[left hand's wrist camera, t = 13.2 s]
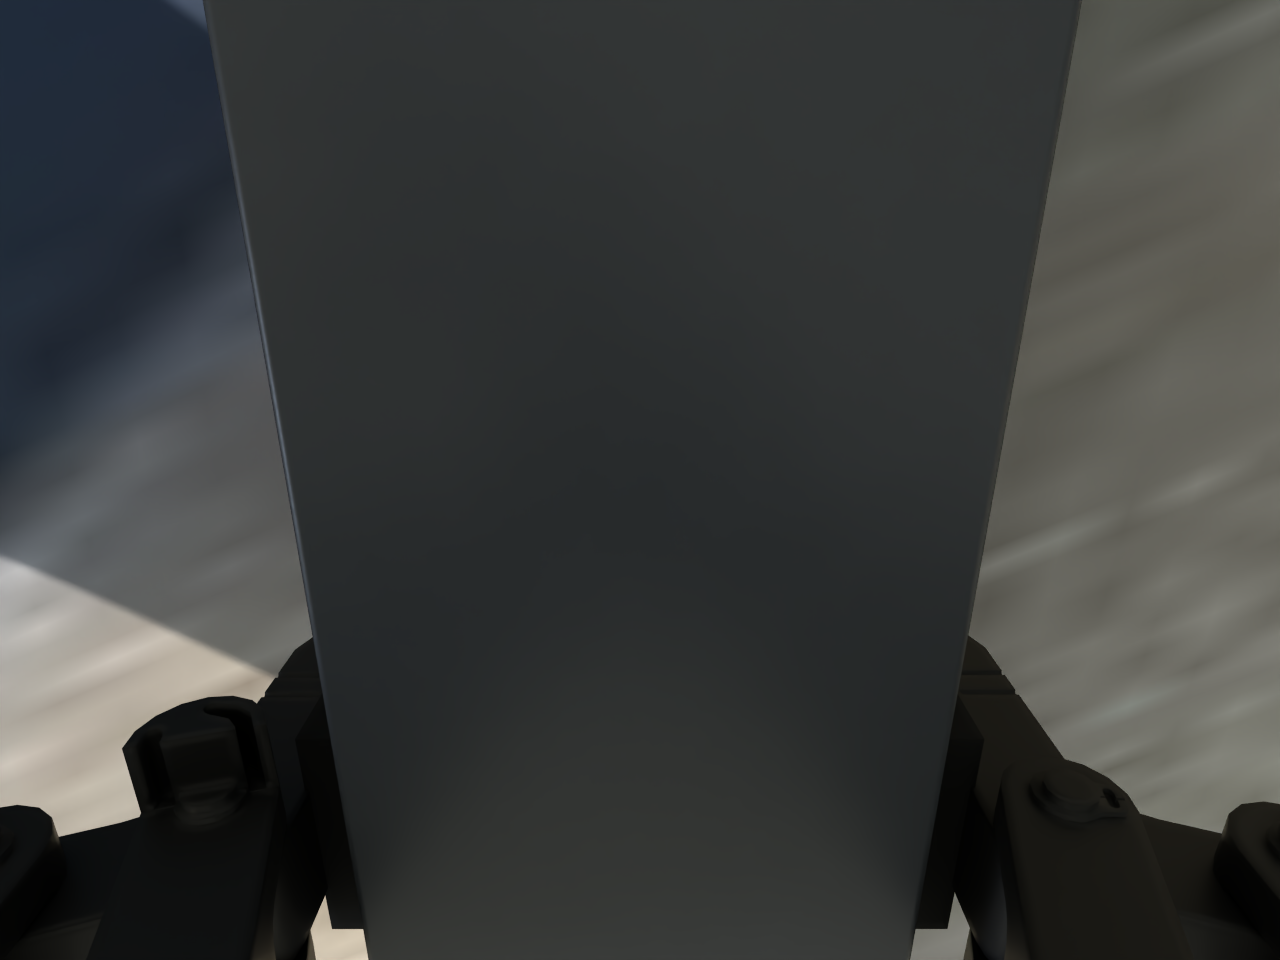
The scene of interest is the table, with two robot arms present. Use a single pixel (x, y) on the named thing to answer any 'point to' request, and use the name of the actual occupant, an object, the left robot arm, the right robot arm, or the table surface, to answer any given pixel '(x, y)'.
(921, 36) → the bar
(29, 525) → the table surface
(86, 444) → the table surface
